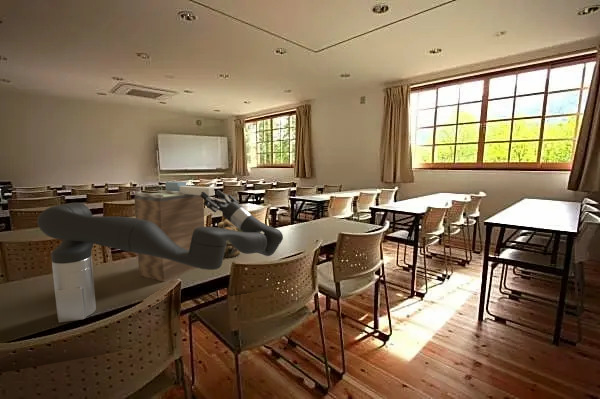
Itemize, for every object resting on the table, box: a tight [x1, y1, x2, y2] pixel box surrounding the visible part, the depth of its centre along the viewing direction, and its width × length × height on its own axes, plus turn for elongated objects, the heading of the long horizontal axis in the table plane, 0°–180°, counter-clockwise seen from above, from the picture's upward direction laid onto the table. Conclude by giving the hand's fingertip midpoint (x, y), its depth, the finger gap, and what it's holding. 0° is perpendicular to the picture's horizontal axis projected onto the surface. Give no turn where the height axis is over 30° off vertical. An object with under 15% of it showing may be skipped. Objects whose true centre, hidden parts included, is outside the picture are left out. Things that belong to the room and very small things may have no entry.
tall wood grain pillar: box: [134, 189, 205, 282], centre depth 122 cm, size 14×22×33 cm, turn 155°
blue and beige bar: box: [165, 180, 215, 197], centre depth 122 cm, size 23×4×4 cm, turn 65°
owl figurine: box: [217, 219, 241, 259], centre depth 146 cm, size 18×12×17 cm, turn 39°
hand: (209, 192), depth 118 cm, fingers open, 8 cm apart
